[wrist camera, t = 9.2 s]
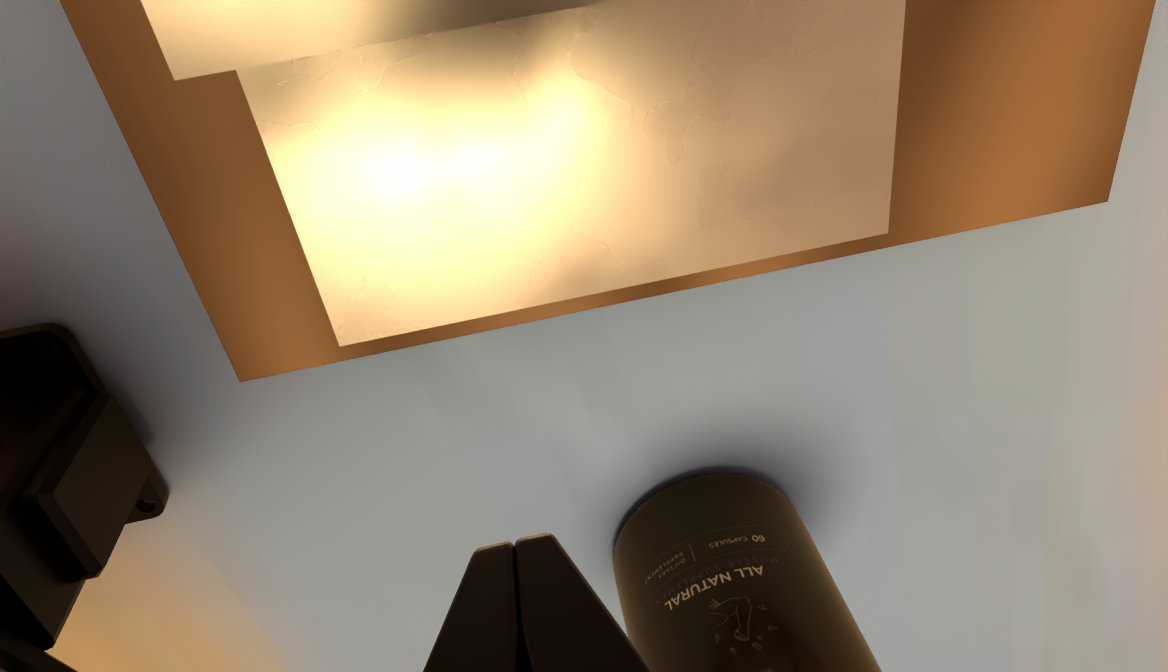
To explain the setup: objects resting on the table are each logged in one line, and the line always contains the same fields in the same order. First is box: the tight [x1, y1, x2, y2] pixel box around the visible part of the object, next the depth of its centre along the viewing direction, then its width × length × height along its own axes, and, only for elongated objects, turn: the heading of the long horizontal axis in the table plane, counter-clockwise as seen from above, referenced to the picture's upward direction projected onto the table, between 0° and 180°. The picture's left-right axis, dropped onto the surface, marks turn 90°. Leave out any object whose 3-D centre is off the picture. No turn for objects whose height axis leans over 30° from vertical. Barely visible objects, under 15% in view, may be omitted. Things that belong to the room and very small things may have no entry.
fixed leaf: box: [141, 0, 906, 346], centre depth 15 cm, size 14×11×4 cm
